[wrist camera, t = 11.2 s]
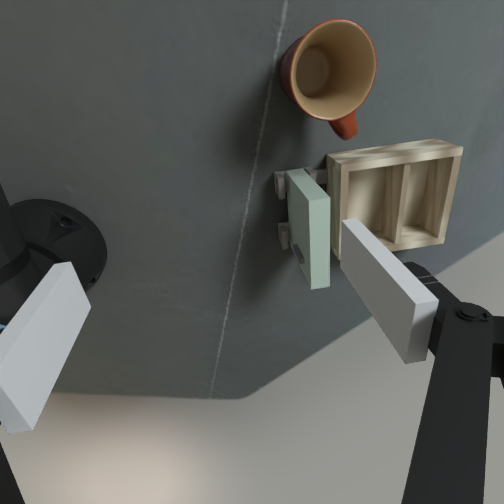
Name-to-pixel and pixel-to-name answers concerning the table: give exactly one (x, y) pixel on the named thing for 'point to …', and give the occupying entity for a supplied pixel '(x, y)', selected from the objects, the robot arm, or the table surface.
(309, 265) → the block
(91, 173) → the table surface
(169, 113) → the table surface
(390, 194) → the wooden divided box
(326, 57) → the mug
